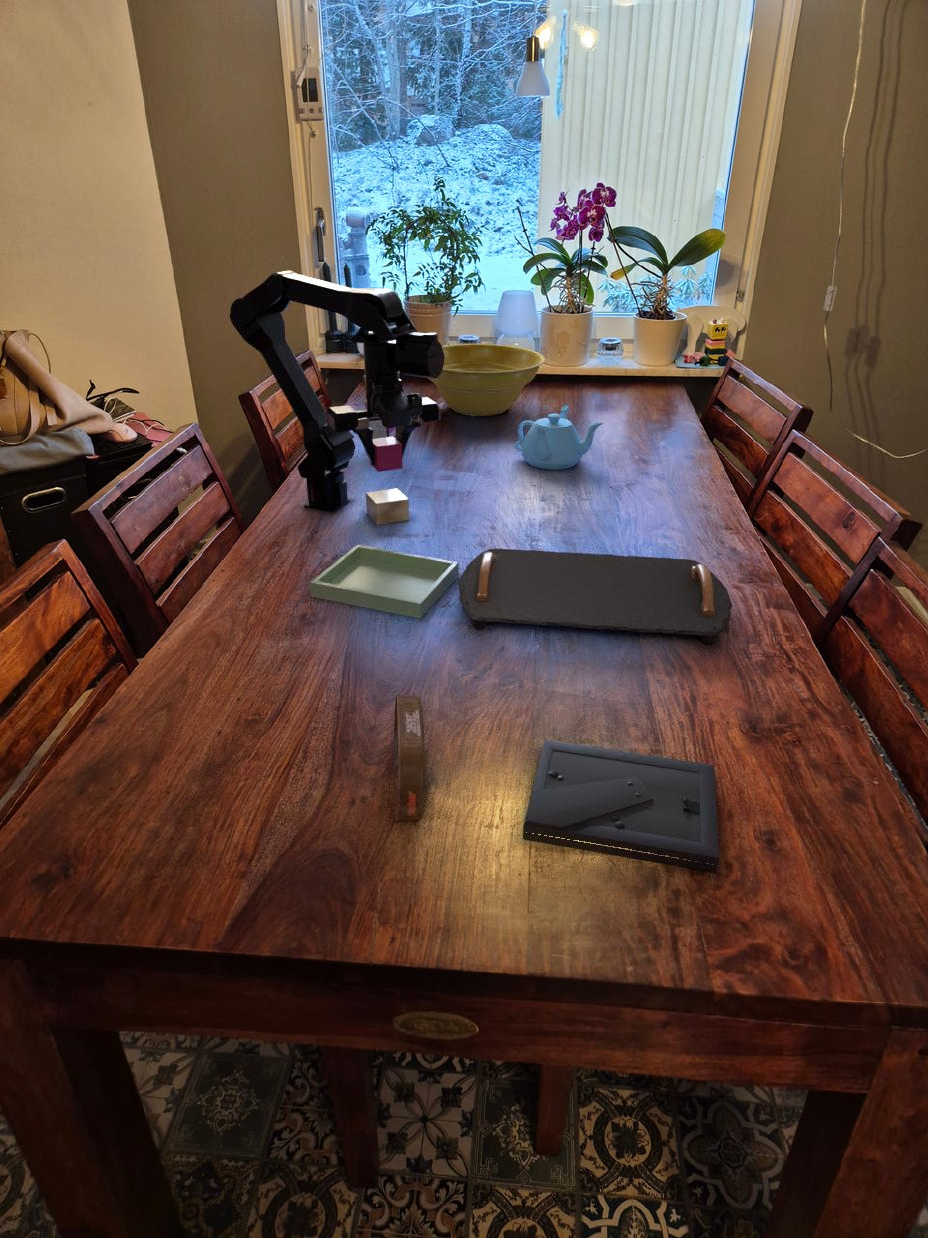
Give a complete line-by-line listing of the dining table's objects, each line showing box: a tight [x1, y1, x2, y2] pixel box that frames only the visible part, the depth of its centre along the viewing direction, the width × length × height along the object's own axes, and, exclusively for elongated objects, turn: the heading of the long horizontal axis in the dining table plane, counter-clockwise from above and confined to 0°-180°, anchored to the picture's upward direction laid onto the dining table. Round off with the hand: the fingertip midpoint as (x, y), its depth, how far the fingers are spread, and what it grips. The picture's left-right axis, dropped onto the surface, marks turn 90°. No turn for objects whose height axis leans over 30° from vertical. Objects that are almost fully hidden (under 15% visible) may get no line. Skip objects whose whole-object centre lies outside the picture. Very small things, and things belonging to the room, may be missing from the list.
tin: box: [392, 694, 426, 822], centre depth 82 cm, size 15×3×8 cm, turn 5°
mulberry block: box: [369, 437, 404, 473], centre depth 142 cm, size 4×4×4 cm
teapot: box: [514, 404, 604, 470], centre depth 173 cm, size 15×15×10 cm
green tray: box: [309, 544, 460, 620], centre depth 123 cm, size 18×15×2 cm
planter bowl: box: [427, 343, 545, 417], centre depth 208 cm, size 32×32×13 cm
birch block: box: [365, 487, 410, 526], centre depth 146 cm, size 6×6×4 cm
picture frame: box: [522, 739, 720, 873], centre depth 81 cm, size 13×2×18 cm
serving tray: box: [457, 548, 733, 646], centre depth 117 cm, size 39×23×6 cm, turn 83°
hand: (386, 462), depth 142 cm, fingers closed on mulberry block, 4 cm apart
